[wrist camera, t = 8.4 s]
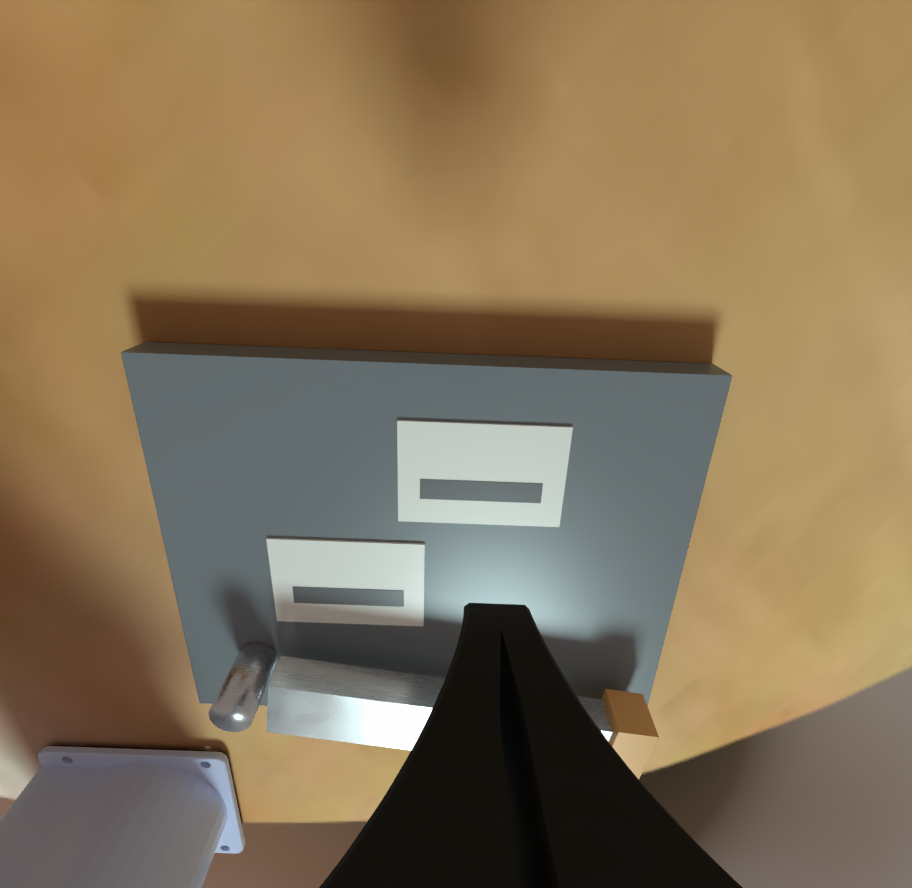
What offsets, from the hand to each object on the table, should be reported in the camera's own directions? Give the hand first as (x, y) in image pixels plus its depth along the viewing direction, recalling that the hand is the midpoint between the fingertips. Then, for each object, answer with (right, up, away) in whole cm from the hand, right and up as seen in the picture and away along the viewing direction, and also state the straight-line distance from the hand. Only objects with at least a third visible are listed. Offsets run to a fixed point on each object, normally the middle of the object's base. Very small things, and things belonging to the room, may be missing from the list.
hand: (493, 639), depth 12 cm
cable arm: (-1, -6, +11) cm, 12 cm away
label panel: (-2, 0, +10) cm, 10 cm away
